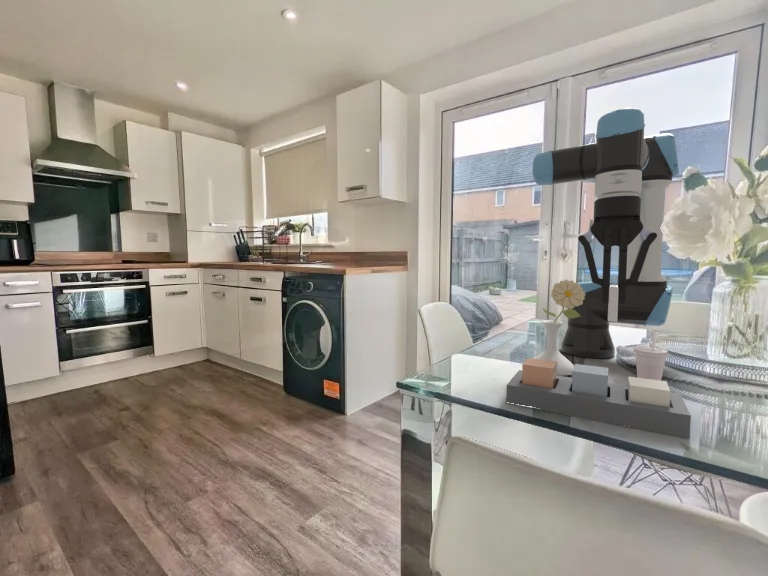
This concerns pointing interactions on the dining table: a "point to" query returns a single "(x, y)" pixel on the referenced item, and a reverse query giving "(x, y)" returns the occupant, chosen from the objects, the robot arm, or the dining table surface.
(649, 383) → the key cream
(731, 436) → the dining table surface
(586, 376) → the key slate
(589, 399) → the console
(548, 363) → the key terracotta
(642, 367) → the smoothie
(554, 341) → the flower in vase
